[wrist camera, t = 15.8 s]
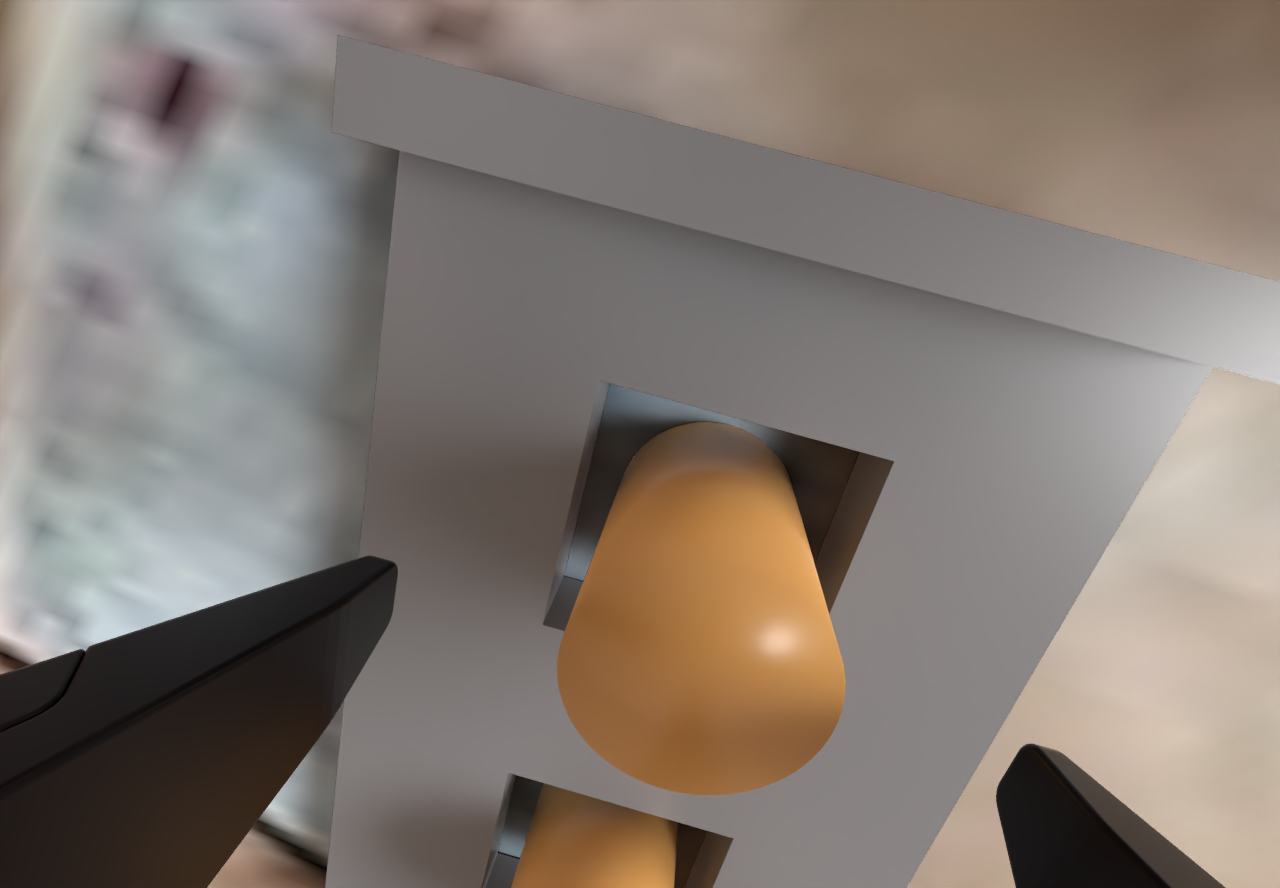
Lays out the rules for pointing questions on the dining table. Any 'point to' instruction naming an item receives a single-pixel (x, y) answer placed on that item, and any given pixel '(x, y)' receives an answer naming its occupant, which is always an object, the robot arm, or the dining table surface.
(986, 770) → the dining table surface
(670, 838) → the orange tapered peg
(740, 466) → the orange rounded plug
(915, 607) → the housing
